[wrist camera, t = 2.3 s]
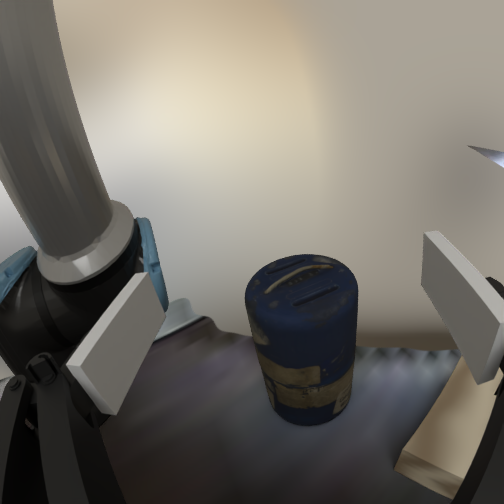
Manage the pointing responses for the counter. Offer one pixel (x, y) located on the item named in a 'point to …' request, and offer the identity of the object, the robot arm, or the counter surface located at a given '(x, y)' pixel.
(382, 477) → the counter surface
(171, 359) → the counter surface
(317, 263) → the canister
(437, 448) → the dock
